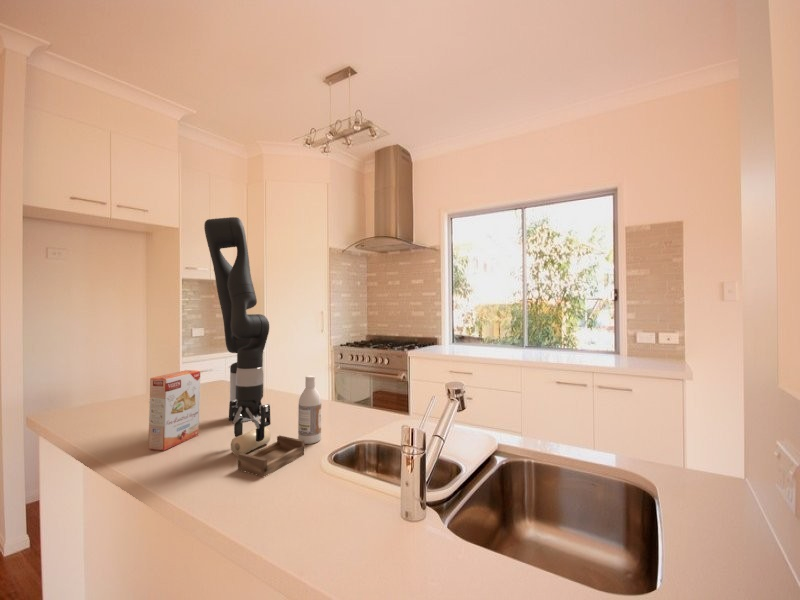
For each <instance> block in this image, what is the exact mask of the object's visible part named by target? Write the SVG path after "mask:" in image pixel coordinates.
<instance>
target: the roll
mask: <svg viewBox="0 0 800 600" xmlns="http://www.w3.org/2000/svg"><path fill="white" fill-rule="evenodd" d="M256 429H257V428H256ZM256 429H253V430H250V431H248V432H245V433H242V435H240V436H237V437H235V436H234V437H233V438H232V439H231V441H230V450H231V452H232V453H233V454H234V455H235V456H238V454H240V453H244V454H247V453H249V452H251V450H252V451H254V450H256V449H259V448H260V447H262V446H265V445H266V444H268V443H269V442H270V441H271V432H270V430H269V429H268V427H267V426H266V427H265V428H264V439H263V440H262V441H259V442H258V441H256Z"/></svg>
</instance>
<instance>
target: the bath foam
mask: <svg viewBox="0 0 800 600" xmlns="http://www.w3.org/2000/svg"><path fill="white" fill-rule="evenodd" d="M304 387H305V388H304V390H303V391H302V392H301V394H300V397H299V399H298V412H297V413H298V415H297V416H298V421H297V422H298V423H297V424H298V425H297V426H298V427H297V428H298V431H297V434H298V436H297V437H298V438H297V439H299V440H304V445H306V444H307V445H311V444H312V445H313V444H315V443H318V442H320V441H321V439H322V398H321V397H322V396H321V395H320V393H319V391H318V390H317V388H316V376H315V375H306V376H305V386H304Z"/></svg>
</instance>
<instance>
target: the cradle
mask: <svg viewBox="0 0 800 600" xmlns="http://www.w3.org/2000/svg"><path fill="white" fill-rule="evenodd" d="M304 455H305V444H304V440H299V439H298V438H294V437H290V436H284V435H280V434H279V435H277V437H276V442H273V443H272V444H269V445H268V446H265V447H262V448H261V449H259V450H257V451H254V452H253V453H250V454H247V453H245V454H244V453H240V454H238V455H237V471H240V470H242V471H241V472H244V471H246V472H245V473H248V472H249V474H251V473H253V474H252V475H255V474H257V475H256V476H259V475H260V476H259V477H262V476H265V477H267V476H268V474H269V475H270V473H271V474H272V473H273V472H276V471H278V470H279V469H281V468H283V467H285V466H286V465H288V464H290V463H292V462H293V461H295V460H297V459H299V458H300V457H302V456H304ZM277 469H278V470H277ZM266 475H267V476H266Z"/></svg>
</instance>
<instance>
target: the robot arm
mask: <svg viewBox="0 0 800 600" xmlns="http://www.w3.org/2000/svg"><path fill="white" fill-rule="evenodd" d="M203 228H204V234H205V240H206V242H207V246H208V251H209V254H210V259H211V262H212V266H213V271H214V278H215V285H216V291H217V297H218V301H219V306H220V309H221V314H222V322H223V329H224V341H225V346H226V350H227V351H228V352H229V353H230V354H236V362H233V363H232V364H231V365H230V371H229V372H230V373H229V405H228V406H229V407H228V408H229V409H228V422H232V423H233V426H234V428H233V430H234V431H233V434H234V438H235V437H237V436H240V435H242V434H243V432H244V431H243V430H244V429H243V422H248V421H251V422H252V423H254V426H255V428H256V441H258V442H259V441H262V440H263V439H264V428H265V427H266V428H267V427H268V426H270V425H271V424H272V423H271V405H270V404H269V403H268V404H262V399H263V397H264V367H263V366H264V360H263V359H264V358H263V355H264V350H265V347H266V344H267V339H268V338H269V337H268V336H269V332H270V322H269V320H268V318H267V317H266V315H264V314H260V313H258V314H255V313H254V314H253V313H252V314H251V313H250V314H247V310H250V309H253V308H254V307H255V306H256V305H257V303H258V299H257V295H256V291H255V288H254V284H253V281H252V280H253V279H252V273H251V267H250V258H249V252H248V243H247V239H246V237H247V236H246V231H245V226H244V225H243V222H242V220H241V219H240V218H239V217H235V216H231V217H219V218H218V217H216V218H210V219H206V220H205V221H204V227H203ZM228 248H236V257H235V261H234V262H233V265H231V263H230V262H229V261H228V260H227V259H226V258H225V256H224V255H223V253H222V252H221V250H222V249H228Z"/></svg>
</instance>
